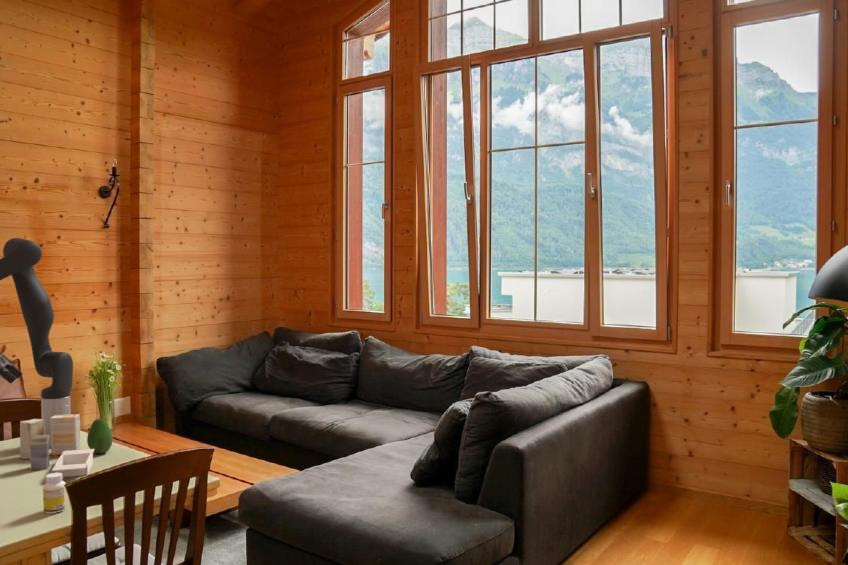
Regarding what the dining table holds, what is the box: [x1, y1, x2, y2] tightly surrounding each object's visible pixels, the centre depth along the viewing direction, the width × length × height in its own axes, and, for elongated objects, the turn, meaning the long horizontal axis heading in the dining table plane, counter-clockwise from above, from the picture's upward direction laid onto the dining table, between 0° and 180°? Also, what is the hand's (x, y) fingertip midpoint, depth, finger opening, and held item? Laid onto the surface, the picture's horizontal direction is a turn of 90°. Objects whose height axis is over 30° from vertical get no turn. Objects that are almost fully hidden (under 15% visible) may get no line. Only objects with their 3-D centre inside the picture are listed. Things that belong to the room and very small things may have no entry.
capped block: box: [30, 435, 50, 471], centre depth 225 cm, size 4×4×10 cm
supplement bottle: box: [42, 472, 67, 514], centre depth 189 cm, size 5×5×10 cm
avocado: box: [86, 418, 114, 454], centre depth 241 cm, size 8×8×12 cm
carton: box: [51, 448, 95, 478], centre depth 223 cm, size 21×9×4 cm, turn 18°
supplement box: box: [50, 413, 82, 456], centre depth 241 cm, size 8×5×13 cm, turn 97°
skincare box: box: [19, 418, 44, 460], centre depth 237 cm, size 6×4×12 cm
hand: (17, 378), depth 224 cm, fingers open, 8 cm apart
